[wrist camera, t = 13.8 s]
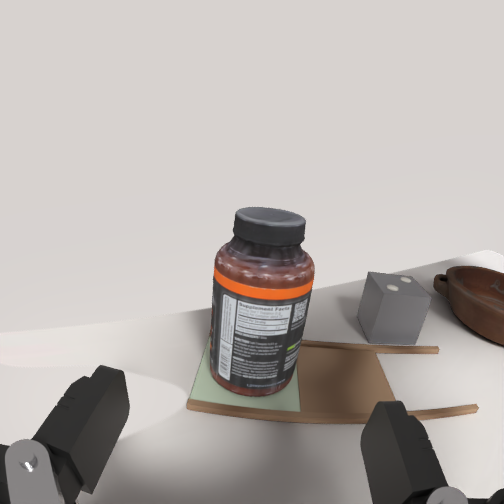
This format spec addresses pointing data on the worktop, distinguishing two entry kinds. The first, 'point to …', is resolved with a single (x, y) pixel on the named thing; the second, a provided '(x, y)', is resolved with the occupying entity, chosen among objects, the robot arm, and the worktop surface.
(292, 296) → the supplement bottle
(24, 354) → the worktop surface
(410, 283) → the die
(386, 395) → the board
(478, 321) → the dish
